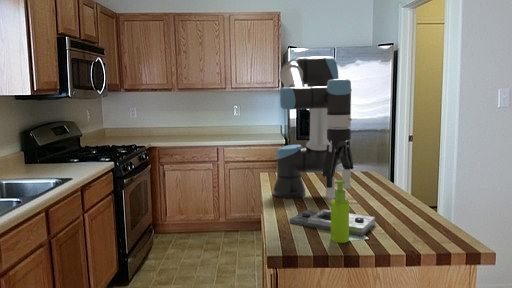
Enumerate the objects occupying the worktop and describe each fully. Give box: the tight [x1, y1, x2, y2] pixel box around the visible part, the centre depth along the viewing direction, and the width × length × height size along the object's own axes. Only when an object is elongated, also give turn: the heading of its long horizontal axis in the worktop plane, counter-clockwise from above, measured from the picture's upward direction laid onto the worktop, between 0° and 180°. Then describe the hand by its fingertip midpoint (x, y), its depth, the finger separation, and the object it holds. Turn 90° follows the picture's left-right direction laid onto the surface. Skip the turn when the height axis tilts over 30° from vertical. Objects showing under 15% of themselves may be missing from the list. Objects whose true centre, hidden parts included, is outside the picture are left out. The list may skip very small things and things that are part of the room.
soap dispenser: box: [330, 179, 350, 244], centre depth 134 cm, size 6×7×20 cm
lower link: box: [289, 209, 331, 231], centre depth 152 cm, size 20×14×2 cm, turn 57°
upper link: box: [308, 208, 376, 237], centre depth 148 cm, size 20×14×4 cm, turn 57°
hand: (338, 192), depth 132 cm, fingers open, 13 cm apart
